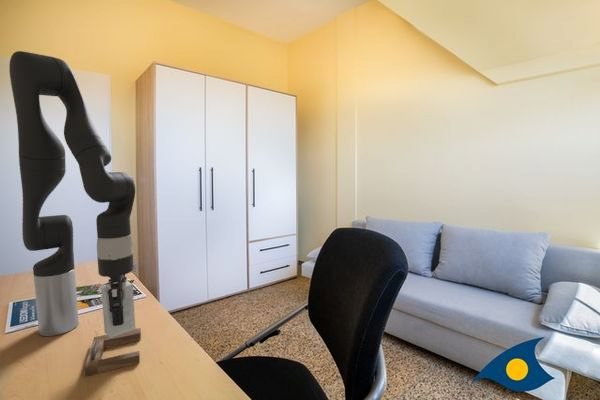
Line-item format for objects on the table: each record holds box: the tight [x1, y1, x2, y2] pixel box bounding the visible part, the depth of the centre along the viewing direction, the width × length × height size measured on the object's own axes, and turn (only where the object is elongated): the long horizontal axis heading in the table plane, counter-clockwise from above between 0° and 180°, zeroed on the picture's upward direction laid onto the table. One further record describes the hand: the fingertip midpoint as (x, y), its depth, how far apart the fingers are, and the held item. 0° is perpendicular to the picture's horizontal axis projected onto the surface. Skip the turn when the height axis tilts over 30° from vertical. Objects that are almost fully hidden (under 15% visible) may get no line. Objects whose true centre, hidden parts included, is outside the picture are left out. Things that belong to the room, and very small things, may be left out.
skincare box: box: [100, 280, 136, 338], centre depth 77 cm, size 6×4×12 cm
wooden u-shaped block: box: [83, 327, 142, 377], centre depth 78 cm, size 14×11×3 cm
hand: (119, 319), depth 77 cm, fingers closed on skincare box, 5 cm apart
